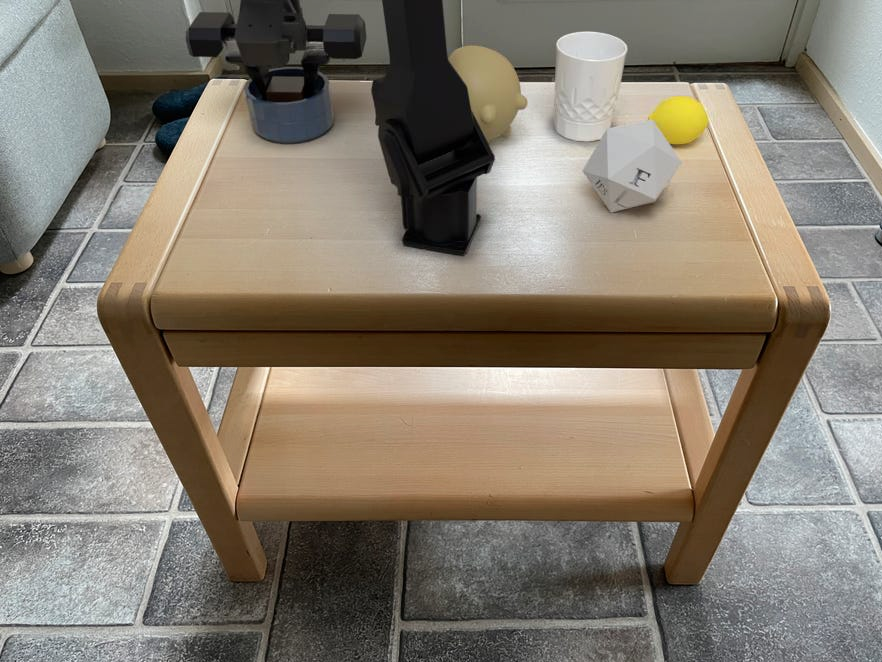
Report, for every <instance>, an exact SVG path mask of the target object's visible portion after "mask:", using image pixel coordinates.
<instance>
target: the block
mask: <svg viewBox="0 0 882 662" xmlns="http://www.w3.org/2000/svg"><path fill="white" fill-rule="evenodd" d="M266 94H267V100H268V102H275V103H284V102H294V101H301V100H304V99H305V91H304V77H278V76H273V77H272V79H271V82H270V84H269V86H268V89H267V91H266Z"/></svg>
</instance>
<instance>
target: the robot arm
mask: <svg viewBox="0 0 882 662" xmlns="http://www.w3.org/2000/svg"><path fill="white" fill-rule="evenodd" d="M300 1H301V0H240V1H239V2H240V3H239V11H238V16H237V21H236V23H235V17H234V16H233V15H232V13H231V12H223V11H222V12H221V11H220V12H219V11H217V12H216V11H215V12H213V11H209V12H208V11H199V12H198V14H196V17H195V18H194V19H193V21H192V22H191V23H190V25H189V27H188V28H187V29H186V30H185V43H186V46H187V50H188V54H189V56H191V57H194V58H218V57H219V55H220V54H221V53H222V52H223V50H224V47H225V52H226V56H225V58H224V60H225V61H226V63H227V64H230V65H236V66H237V67H239V68H241V69H242V70H243V71H244V72H245V74H247V76H248V77H249V79H250V78H251V79H252V81H253V82H254V84H255V86H256V87H257V89H258V91H259V92H260V94H261V96H262V97H263V99H264V101H268V100H267V94H266V91H267V89H268V86H269V84H270V82H271V78H270V74H269V70H270V68H269V66H272V67H274V68H283V67H286V65H288V63H289V62H290V58H291V57H290V55H292V54H296V52H297V51H298V52H299V51H300V52H302V51H303V52H304V53H303V54H302V57H301V60H300V64H301V67H302V68H303V72H304V91H305V99H307V98H310V97H312V96H314V92H315V87H316V81H317V76H318V71H319V72H320V67H321V66H326V65H328V64H329V63H330V62H331V59H333V60H357V59H360V58H362V57H363V53H364V49H365V45H366V42H367V29H366V22H365V20H364V18H363V17H362V16H361V15H360V14H358V13H351V14H350V13H328V15H327V18H326V21H325V23H324V24H306V20H305V18H304V13H303V8H302V7H301V2H300ZM381 2H382V10H383V11H382V12H383V17H384V25H385V32H386V41H387V48H388V55H389V56H388V57H389V65H388V66H387V69H386V72H385V75H384V76H381V77H378V78H374V79H373V80H372V82H371V89H370V93H371V96H372V101H373V106H374V112H375V113H374V114H375V119H374V125H375V127H378V129H377V138H378V141H379V145H380V148H381V152H382V156H383V159H384V163H385V167H386V170H387V174H388V178H389V180H390V183H391V185H393V186H394V187H396V189H397V195H398V196H399V197H400V205H401V220H402V227H403V229H405V230H406V231H405V233H404V234H403V236H402V238H401V243H402V244H403V245H405V246H409V247H414V248H419V249H425V250H426V249H427V250H432V251H437V252H443V253H444V252H445V253H449V254H455V255H460V256H461V255H466V254H467V252H468V250H469V248H470V245H471V243H472V242H473V239H474V237H475V235H476V232H477V230H478V228H479V226H480V224H481V222H482V216H481V215H480V214H479V213H477V209H478V208H477V206H478V205H477V202H478V199H477V196H478V177H481V176H483V175H488V174H489V173H491V172H492V170H493V169H492V168H493V166H494V163H495V160H496V157H495V153H494V152H493V150H492V148H491V145H490V144H489V142H487V140H486V138H485V136H484V134H483V132H482V130H481V128H480V126H479V124H478V122H477V120H476V118H475V116H474V114H473V112H472V110H471V105H470V99H469V93H468V88H467V85H466V84H465V82H464V81H463V79H462V78H461V77H460V75H459V74H458V72H457V71H456V70H455V68H454V67H453V65H452V64H451V63H450V61H449V59H448V58H449V56H448V55H449V54H448V48H447V47H448V46H447V35H446V24H445V12H444V1H443V0H381Z"/></svg>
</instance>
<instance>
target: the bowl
mask: <svg viewBox="0 0 882 662" xmlns="http://www.w3.org/2000/svg"><path fill="white" fill-rule="evenodd" d="M269 74H270V78H271V79H272V77H273V76H278V77H304V72H303V67H302V66H282V67H275V68H271V69H269ZM243 92H244V97H245V102H246V106H247V111H248V114H249V119H250V124H251V127H252V130H253V131H254V132H255V133H256V134H257V135H258V136H260V137H262V138H263V139H265V140H267V141H270V142H274V143H279V144H298V143H304V142H308V141H312V140H314V139H316V138H319V137H321V136H323V135H325V133H326V132H327V131H328V130H330V128H331V127H332V125H333V124H334V120H335V119H334V118H335V115H334V107H333V100H332V91H331V84H330V80H329V78H328V77H327V75H325V74H324V73H322V72H321V71H320V70H319V71H318V76H317V81H316V87H315V92H314V96H312V97H310V98H307V99H304V100H301V101H294V102H284V103H275V102H268V101H264V99H263V97H262V96H261V94H260V92H259V91H258V89H257V87H256V86H255V84H254V82H253V81H252V79H251V78H250V77H249V79H248V80H247V81H246V82H245V84H244V87H243Z"/></svg>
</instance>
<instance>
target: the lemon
mask: <svg viewBox="0 0 882 662" xmlns="http://www.w3.org/2000/svg"><path fill="white" fill-rule="evenodd" d="M652 119H653V121H654V122H655V124H656V125H657V126H658V128H659V129H660V131H661V132H662V134H663V135H664V137H665V138H666V140H667V141H668V143H669V144H670V145H685V144H690V143H691V142H693V141H694V140H696V139H698V138H699V137H700V136H702V134H703V133H704V132H705V130H706V129H707V128H708V126H709V124H710V119H709V116H708V113H707V111H706V108H705V107H704V105H703V104H702V103H701V102H699V101H698V100H697V99H696V98H693V97H691V96H689V95H675V96H670V97H668V98H667V99H666V98H665V99H664V100H662V101H660V103H659V104H658V105H657V106H656V108H655V109H654V110H653V111H651V113H650V114H649V115H648V116H647V120H652Z"/></svg>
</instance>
